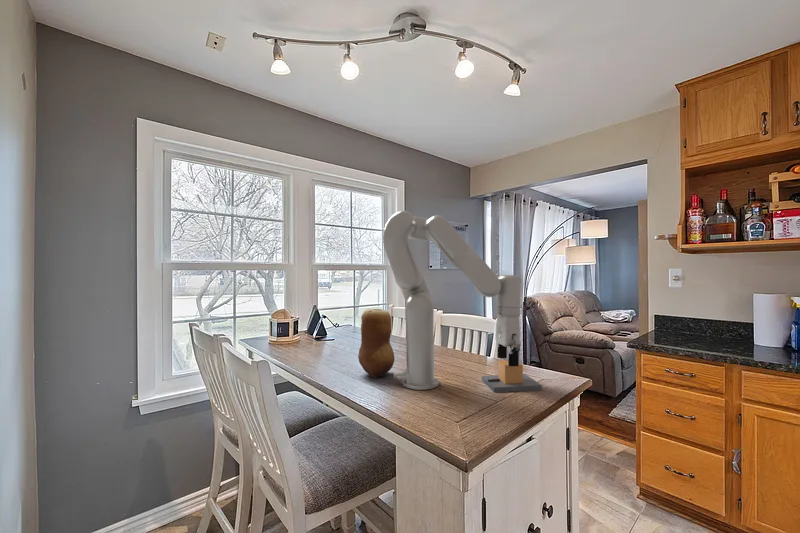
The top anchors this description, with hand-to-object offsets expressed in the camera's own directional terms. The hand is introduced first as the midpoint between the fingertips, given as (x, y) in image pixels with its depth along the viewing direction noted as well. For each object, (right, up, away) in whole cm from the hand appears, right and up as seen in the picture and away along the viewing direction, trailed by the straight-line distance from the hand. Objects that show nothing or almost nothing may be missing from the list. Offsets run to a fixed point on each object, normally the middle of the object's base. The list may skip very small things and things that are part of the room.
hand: (507, 361), depth 119 cm
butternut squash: (-45, -9, +13) cm, 48 cm away
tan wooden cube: (+1, -6, 0) cm, 6 cm away
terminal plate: (+1, -8, 0) cm, 8 cm away
